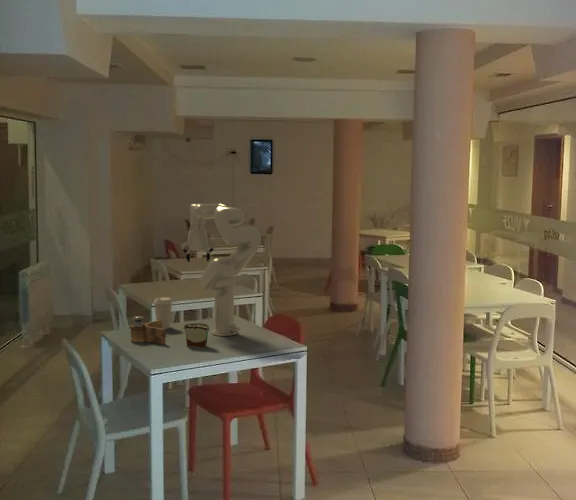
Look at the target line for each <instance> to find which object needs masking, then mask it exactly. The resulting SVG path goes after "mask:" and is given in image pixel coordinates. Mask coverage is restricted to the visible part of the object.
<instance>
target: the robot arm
mask: <svg viewBox="0 0 576 500" xmlns="http://www.w3.org/2000/svg"><path fill="white" fill-rule="evenodd" d="M245 215H246V214H245V213H244V212H243V210H242V209H240V208H237V207H232V206H227V205H226V204H222V203H192V204H190V206H189V218H190V219H189V221H190V222H189V225H190V226H189V227H190V228H189V230H188V233H187V241H186V242H184V243H183V244H181V245H180V248H181V249H182V251H183V252H184V253H185V254H186V261H187V262H188V263H190V262H191V259H190V258H191V257H190V253H191V251H205V252H206V256H205V257H206V262H209V260H211V257H210V255H211V253H212V252H213V250H214V249H215V247H216V245H215V243H212V242H210V241H209V239H208V232H207V230H206V229H209V225H206V220H209V219H211V220H212V219H213V220H214V221H213V222H214V224H215V226H216V228H217V231H218V232H219V234H220V236H221V238H222V240H223V242H224V243H225V244H226V245H228V246H231V247H232V246H233V247H234V246H235V247H236V246H237V247H236V248H235V249H234V250H233V251H232V253H231V254H230V255H229V256H225V257H216V258H214V259H212V261H210V262H209V263H208V265H207V267H205V269H204V271H203V272H202V274H201V277H200V287H201V288H202V289H203V290H204V291H207V292H210V291H211V292H212V291H216V292H215V294H214V304H213V305H214V309H213V310H214V329H212V330H211V335H214V336H218V337H219V336H220V337H228V336H234V335H237V334H238V333H240V330H241V328H240V327H238V326H237V324H236V323H235V289H236V288H235V287H236V281H237V276H238V275H239V274H240V273H241V272H242V271H243V269H244V268H245V267H246V265H247V264H248V262H249V261H250V260H251V259H252V258H253V257H254V256H255V254H256V253H257V252H258V250H259V249H260V245H261V240H262V239H261V238H262V236H261V232H260V231H259V229H258V228H256V227H254V226H246V225H245V226H240V225H242V224H243V223H244V221H245V219H246V216H245ZM209 246H210V249H209ZM185 247H187V249H186V248H185Z"/></svg>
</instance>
